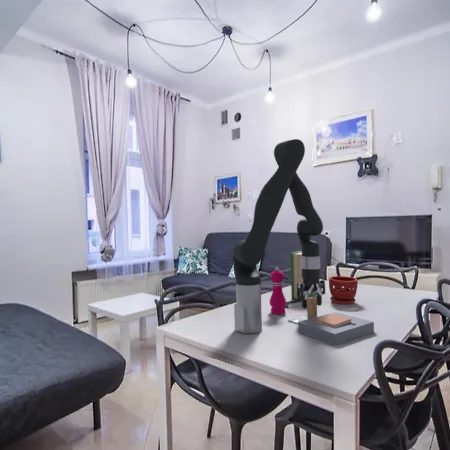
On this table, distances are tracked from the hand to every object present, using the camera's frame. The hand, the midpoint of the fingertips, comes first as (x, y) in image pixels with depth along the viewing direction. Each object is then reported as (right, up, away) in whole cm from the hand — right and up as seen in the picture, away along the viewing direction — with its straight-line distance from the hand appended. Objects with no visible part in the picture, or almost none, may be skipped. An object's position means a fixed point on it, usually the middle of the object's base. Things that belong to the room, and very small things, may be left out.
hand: (311, 306), depth 129 cm
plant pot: (+22, -5, +25) cm, 34 cm away
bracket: (-3, -6, +26) cm, 27 cm away
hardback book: (+7, -5, +40) cm, 41 cm away
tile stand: (+4, -5, -16) cm, 18 cm away
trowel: (-2, -5, -2) cm, 6 cm away
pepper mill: (-12, -5, +10) cm, 17 cm away
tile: (+3, 0, -17) cm, 17 cm away
